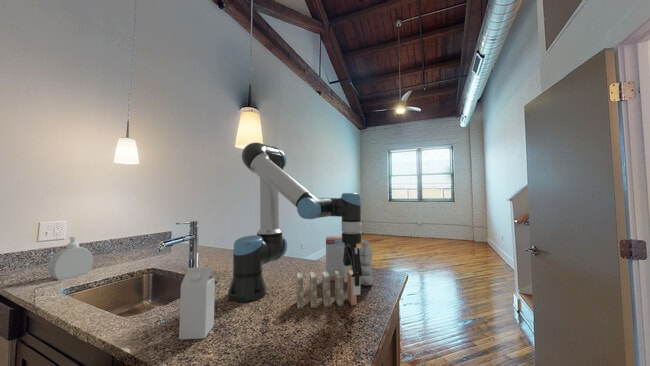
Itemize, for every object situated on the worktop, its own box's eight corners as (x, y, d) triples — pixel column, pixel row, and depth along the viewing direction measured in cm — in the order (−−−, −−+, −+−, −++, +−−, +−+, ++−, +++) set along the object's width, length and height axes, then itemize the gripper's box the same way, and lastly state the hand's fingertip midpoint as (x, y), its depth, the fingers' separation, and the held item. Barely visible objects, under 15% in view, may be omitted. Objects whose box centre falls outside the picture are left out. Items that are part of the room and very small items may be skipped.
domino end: (351, 305, 93) (351, 275, 94) (347, 298, 99) (347, 270, 100) (356, 304, 94) (356, 274, 94) (352, 298, 99) (352, 270, 100)
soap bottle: (86, 271, 137) (88, 234, 138) (93, 272, 135) (94, 235, 136) (46, 280, 122) (49, 239, 123) (52, 281, 120) (55, 239, 121)
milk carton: (190, 327, 78) (192, 264, 79) (213, 326, 78) (215, 264, 79) (178, 340, 70) (181, 271, 72) (204, 339, 71) (206, 270, 72)
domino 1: (297, 308, 90) (297, 277, 91) (296, 301, 96) (297, 272, 97) (302, 308, 91) (303, 277, 91) (302, 301, 97) (302, 272, 97)
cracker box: (354, 278, 125) (354, 235, 126) (355, 282, 118) (354, 237, 120) (326, 277, 126) (326, 235, 127) (325, 281, 120) (325, 237, 121)
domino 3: (324, 306, 92) (324, 276, 92) (322, 300, 98) (322, 271, 98) (330, 306, 92) (330, 276, 93) (327, 300, 98) (327, 271, 99)
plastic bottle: (374, 283, 116) (374, 240, 118) (371, 288, 110) (370, 242, 112) (361, 281, 119) (360, 239, 120) (357, 286, 113) (356, 241, 114)
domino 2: (311, 307, 91) (311, 277, 92) (309, 301, 97) (309, 272, 98) (316, 307, 91) (316, 276, 92) (314, 300, 97) (315, 272, 98)
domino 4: (338, 306, 93) (337, 275, 93) (335, 299, 98) (335, 271, 99) (343, 305, 93) (343, 275, 93) (340, 299, 99) (340, 270, 99)
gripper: (370, 236, 86) (371, 300, 85) (352, 228, 111) (353, 277, 110) (349, 237, 85) (350, 301, 84) (336, 228, 110) (336, 278, 108)
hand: (351, 287), depth 97 cm, fingers open, 13 cm apart
